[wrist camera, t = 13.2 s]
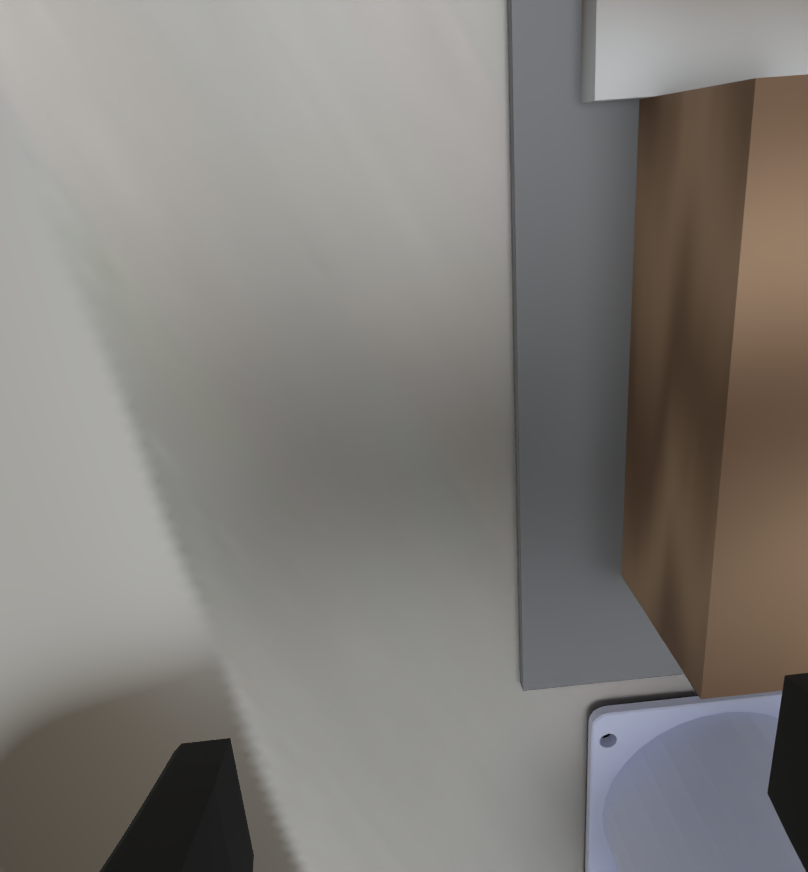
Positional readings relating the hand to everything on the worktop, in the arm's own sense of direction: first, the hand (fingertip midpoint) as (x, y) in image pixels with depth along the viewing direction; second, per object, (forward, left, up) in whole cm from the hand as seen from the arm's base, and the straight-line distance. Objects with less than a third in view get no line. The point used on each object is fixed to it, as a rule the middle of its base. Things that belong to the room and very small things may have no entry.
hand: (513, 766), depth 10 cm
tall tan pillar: (+4, -6, -10) cm, 13 cm away
